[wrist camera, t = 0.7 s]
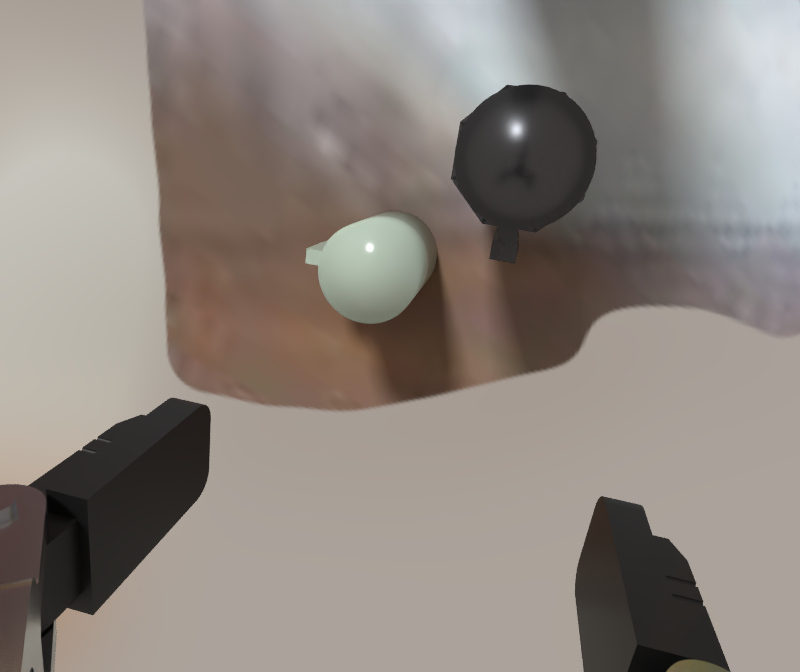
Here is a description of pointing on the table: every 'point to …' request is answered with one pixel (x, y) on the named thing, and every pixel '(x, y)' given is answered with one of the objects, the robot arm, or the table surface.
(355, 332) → the table surface
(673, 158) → the table surface
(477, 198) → the plunger
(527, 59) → the table surface
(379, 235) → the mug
